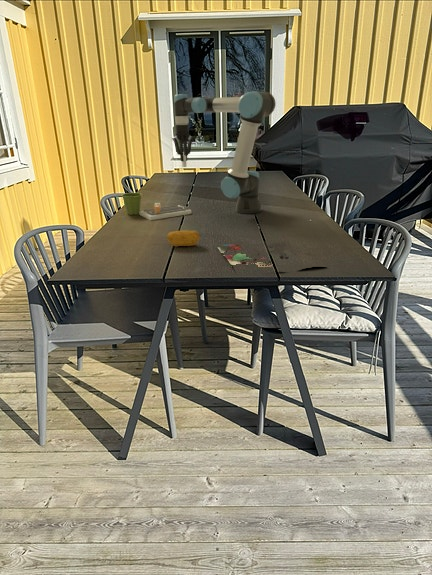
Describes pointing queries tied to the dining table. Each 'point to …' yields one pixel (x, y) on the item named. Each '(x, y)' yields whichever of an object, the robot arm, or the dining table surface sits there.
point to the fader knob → (156, 209)
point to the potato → (183, 238)
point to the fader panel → (165, 212)
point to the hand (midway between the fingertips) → (184, 166)
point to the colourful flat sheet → (238, 256)
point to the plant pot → (132, 202)
